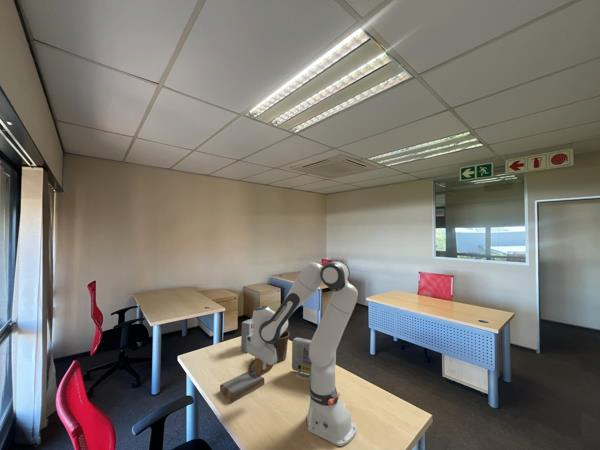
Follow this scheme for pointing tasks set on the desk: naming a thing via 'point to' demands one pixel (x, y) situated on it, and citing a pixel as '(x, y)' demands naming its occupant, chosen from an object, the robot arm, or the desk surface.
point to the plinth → (240, 386)
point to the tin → (257, 368)
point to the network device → (301, 357)
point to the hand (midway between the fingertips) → (261, 367)
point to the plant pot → (282, 346)
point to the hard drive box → (246, 333)
